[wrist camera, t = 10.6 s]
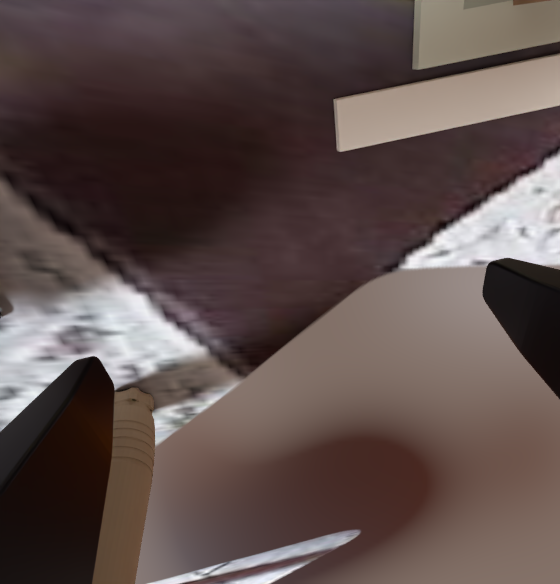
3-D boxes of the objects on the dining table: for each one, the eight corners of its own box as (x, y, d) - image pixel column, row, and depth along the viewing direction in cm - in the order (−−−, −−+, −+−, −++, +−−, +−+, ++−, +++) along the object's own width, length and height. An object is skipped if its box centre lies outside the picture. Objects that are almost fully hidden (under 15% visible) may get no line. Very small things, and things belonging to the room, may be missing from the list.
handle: (188, 390, 27) (181, 683, 14) (131, 438, 28) (80, 740, 16) (130, 358, 24) (61, 678, 12) (71, 413, 26) (-44, 745, 14)
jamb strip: (336, 149, 20) (339, 152, 19) (333, 98, 18) (336, 100, 18) (617, 90, 21) (626, 91, 20) (633, 38, 19) (643, 38, 19)
